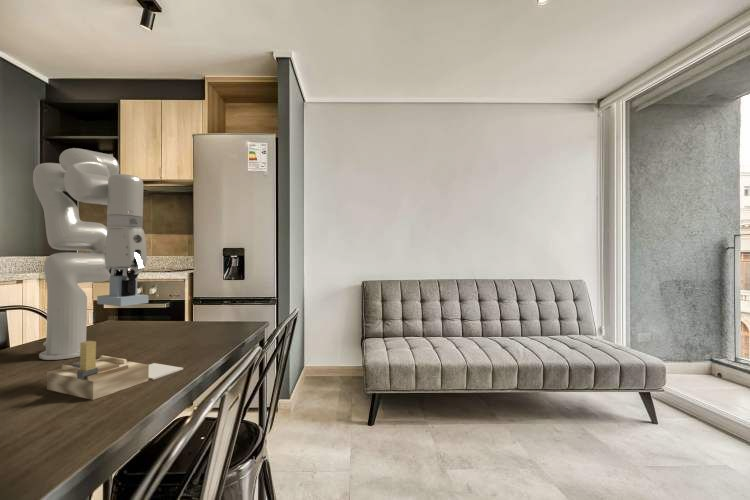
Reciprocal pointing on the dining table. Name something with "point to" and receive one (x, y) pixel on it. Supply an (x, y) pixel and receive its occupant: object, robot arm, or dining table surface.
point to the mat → (161, 370)
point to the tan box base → (98, 378)
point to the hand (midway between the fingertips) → (123, 294)
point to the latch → (86, 360)
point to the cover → (120, 295)
